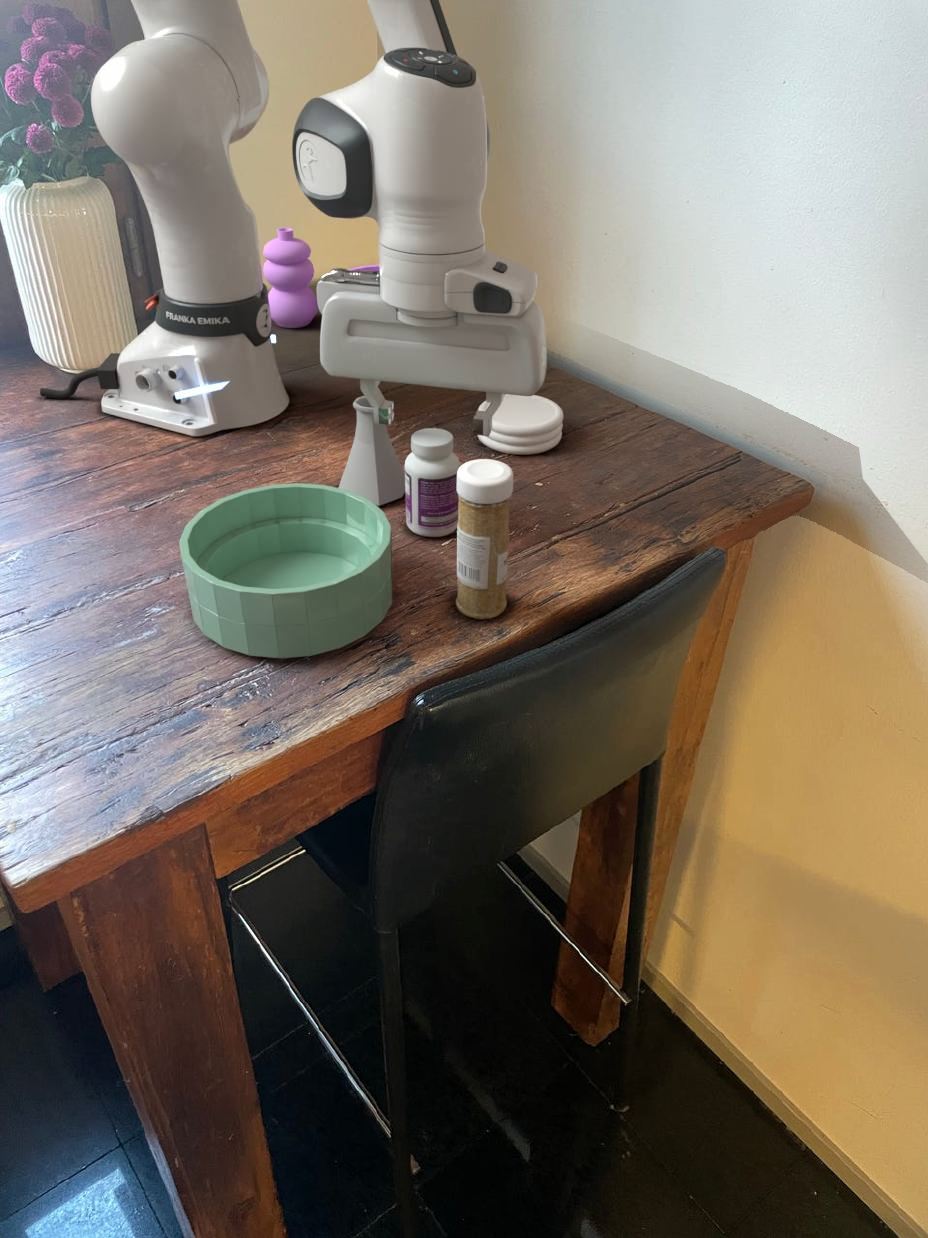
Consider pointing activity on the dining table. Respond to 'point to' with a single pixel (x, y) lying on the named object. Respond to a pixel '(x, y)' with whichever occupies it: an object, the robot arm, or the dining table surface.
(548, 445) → the white round disc stack
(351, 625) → the mint green bowl
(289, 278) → the container set
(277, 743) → the dining table surface
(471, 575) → the sprinkles bottle
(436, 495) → the pill bottle
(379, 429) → the flask
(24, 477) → the dining table surface
